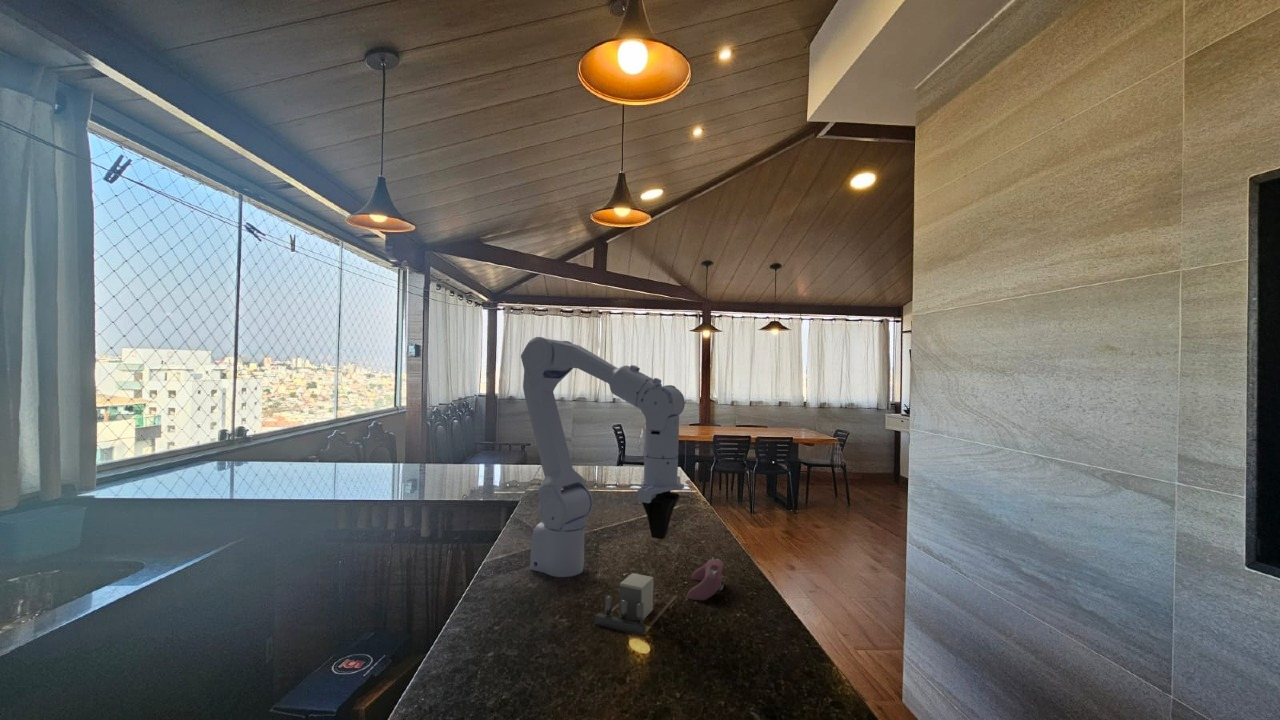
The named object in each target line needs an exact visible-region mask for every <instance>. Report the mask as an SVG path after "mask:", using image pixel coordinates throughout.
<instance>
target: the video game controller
mask: <svg viewBox="0 0 1280 720" xmlns="http://www.w3.org/2000/svg"><path fill="white" fill-rule="evenodd" d="M724 565H725V563H724V562H723V560H721V559H719V558H715V557H712V559H711V558H710V559H709V560H707V562H705V563H704V564H703V565H702V566H700V567H699V568H697V569H696V570H695V571H693V573H692V574H691V576H690V580H693V581H694V580H695V581H700V582H699V583H697V584H696V585H695V586H693V587H692V588H691V589H690V590H689V591H688V592H687V594H686V598H687V599H689V600H693V601H707V600H708V599H710V598H711V597H713V596H714V595H716V593H717V591H719V592H720V591H723V589H724V583H722V581H723V570H724Z"/></svg>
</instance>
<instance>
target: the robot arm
mask: <svg viewBox="0 0 1280 720" xmlns="http://www.w3.org/2000/svg"><path fill="white" fill-rule="evenodd" d="M520 358H521V361H522V363H521V364H522V366H523V381H522V389H523V390H522V391H523V395H524V398H525V401H526V402H525V403H526V407H527V411H528V415H529V419H530V423H531V427H532V431H533V435H534V439H535V443H536V447H537V451H538V455H539V459H540V463H541V467H542V471H543V475H544V478H543V480H542V481H541V483H540V485H539V487H538V489H537V494H538V499H539V500H538V507H537V508H538V510H537V511H538V516H539V519H540V520H541V521H540V522H539V523H538V524H536V526H535V527H534V529H533V531H532V535H531V539H530V555H529V556H530V557H529V558H530V559H529V570H532V571H535V572H539V573H543V574H546V575H549V576H552V577H557V578H567V577H574V576H578V575H580V574H581V573H583V571H584V564H585V563H584V560H585V559H584V558H585V538H586V537H585V536H586V535H585V534H586V532H585V531H586V522H587V516H588V515H590V514H591V512H592V510H593V507H594V500H593V494H592V493H591V491H590V490H589V488H587V486H586V483H585V480H584V477H583V476H582V475H580V474H579V473H578V472H577V471H576V470H575V469H574V467H573V463H572V459H571V455H570V451H569V448H568V444H567V443H568V442H567V439H566V436H565V433H564V432H565V431H564V428H563V425H562V424H563V423H562V421H561V417H560V413H559V409H558V406H557V402H556V401H557V400H556V398H555V394H554V391H555V389H556V387H557V386H558V384H559V383H560V382H561V381H562V380H563V379H564V378H566V376H568V374H569V373H570V372H571V371H572V370H574V369H579V370H580V371H582V372H585V373H586V374H588V375H591V376H593V377H595V378H596V379H598V380H601V381H603V382H604V383H607V384H608V386H609V389H610V392H611V394H612V395H614V396H616V397H618V398H620V399H621V400H623V401H625V402H626V403H628V404H631V406H633V407H636V408H638V409H639V410H640V411H641V413H642V414H643V417H644V418H645V437H644V438H645V439H644V461H643V463H644V466H643V469H644V470H643V480H642V483H641V486H640V487H639V489H637V502H638V503H641V504H642V506H643V508H644V510H645V513H646V516H647V517H646V518H647V521H648V526H649V531H650V535H651V538H654V539H660V540H664V539H665V538H666V537H667V535H668V534H667V533H668V529H669V525H670V521H671V518H672V515H673V511H674V509H675V507H676V504H677V503H678V501H679V500H680V494H679V493H677V492H671V491H682V490H683V489H684V488H685V484H684V483H681V476H679V474H678V471H679V468H678V467H679V466H678V465H679V438H680V415H681V414H682V413H683V412H684V409H685V403H686V401H685V397H684V395H683V393H682V391H680V390H679V389H678V388H677V387H676V386H675V385H672V384H671V385H670V384H668V385H667V384H666V385H663V384H662V379H660V378H658V377H654V378H652V377H650V376H648V375H646V374H645V373H643V372H641V371H640V370H641V368H640V367H639V366H637V365H632V364H631V365H630V366H629V365H626V364H625V365H622V366H619V367H617V366H616V365H613V364H612V363H610V362H608V361H607V360H604V359H603V358H602V357H600V356H598V355H597V354H595V353H593V352H591V351H589V350H588V349H586V348H584V347H583V346H581V345H579V344H576V343H575V344H574V343H572V342H571V341H569V340H557V339H550V338H545V337H541V336H536V337H533V338H531V339H530V340H529V341H528V342H527V344H526V346H525V347H524V349H523V351H522V353H521V355H520Z"/></svg>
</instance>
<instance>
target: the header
mask: <svg viewBox="0 0 1280 720" xmlns="http://www.w3.org/2000/svg"><path fill="white" fill-rule="evenodd" d="M604 600H605V602H604V603H605V605H604V613H601V612H598V613H596V614H594V625H597V626H601V627H605V628H609V629H613V630H617V631H621V632H625V633H628V634H631V635H632V634H633V635H637V636H640V637H644V636H645V634H646V633H647V632H646V626H647V624H645V623H644V620H643V606H644V604H643V603H641V602H639V603H637V606H636V621H634V620H629V619H627V608H628V600H627V599H621V611H620V617H619V616H618V617H617V616H613V612H612V608H613V596H612V595H611V594H610V595H606V596H605V599H604Z"/></svg>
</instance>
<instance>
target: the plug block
mask: <svg viewBox="0 0 1280 720" xmlns="http://www.w3.org/2000/svg"><path fill="white" fill-rule="evenodd" d="M654 579H655V578H654V577H653V576H649V575H644V574H640V573H634V572H632V573H631V574H629V575H628V576H626V578H624V579H623V580H621V582H620V583H619V602H618V603H619V607H618V609H619V610H618V618H620V611H621V599H627V600H628V608H627V620H630V621H634V622H636V606H637V603H639V602H641V603H643V604H644V606H643V621H644V620H645V619H646V618H647V616H648V615H649V614H651V612H652V611H653V609H654V608H653V606H654V605H653V604H654Z"/></svg>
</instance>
